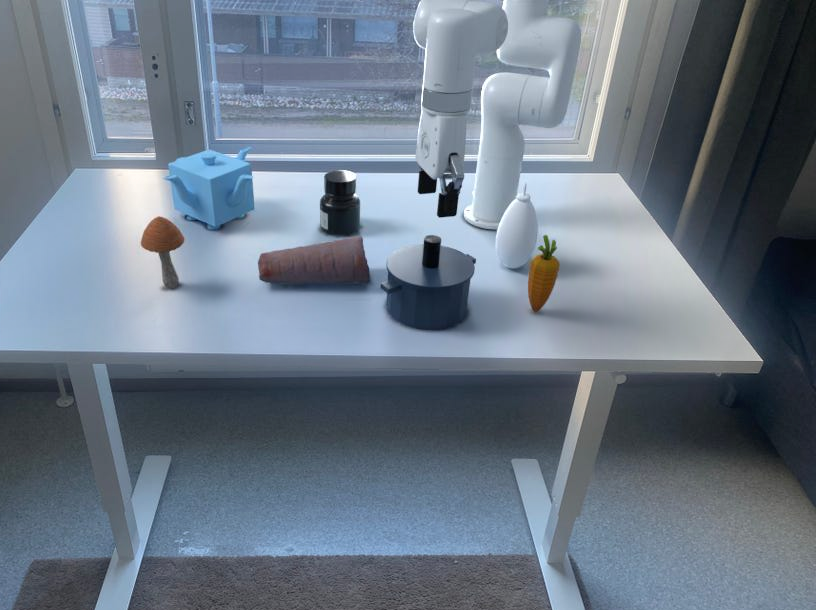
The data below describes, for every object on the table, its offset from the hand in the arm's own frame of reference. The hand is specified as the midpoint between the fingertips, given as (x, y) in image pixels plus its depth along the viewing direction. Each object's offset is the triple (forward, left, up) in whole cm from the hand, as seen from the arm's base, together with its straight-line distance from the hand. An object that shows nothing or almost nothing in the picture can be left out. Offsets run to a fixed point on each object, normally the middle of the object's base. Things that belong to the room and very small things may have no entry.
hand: (436, 204), depth 118 cm
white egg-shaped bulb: (-11, +22, -21) cm, 32 cm away
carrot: (+6, +19, -21) cm, 29 cm away
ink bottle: (-36, -8, -21) cm, 43 cm away
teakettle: (-47, -34, -21) cm, 62 cm away
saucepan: (0, 0, -21) cm, 21 cm away
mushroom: (-18, -46, -21) cm, 54 cm away
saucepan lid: (0, 0, -12) cm, 12 cm away
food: (-15, -18, -21) cm, 31 cm away
